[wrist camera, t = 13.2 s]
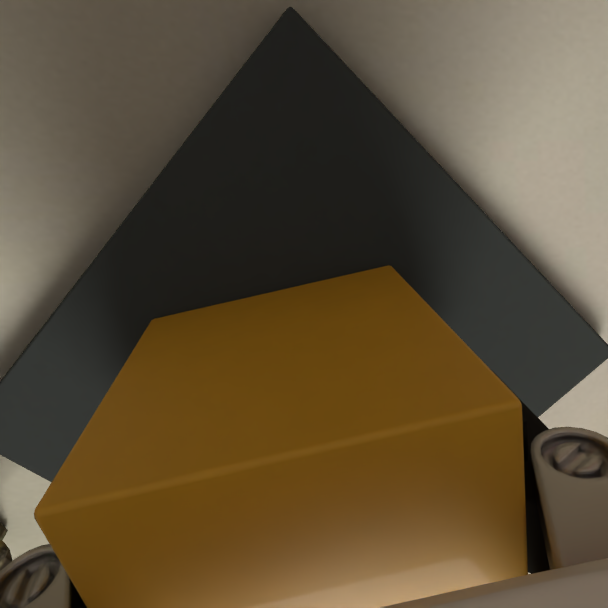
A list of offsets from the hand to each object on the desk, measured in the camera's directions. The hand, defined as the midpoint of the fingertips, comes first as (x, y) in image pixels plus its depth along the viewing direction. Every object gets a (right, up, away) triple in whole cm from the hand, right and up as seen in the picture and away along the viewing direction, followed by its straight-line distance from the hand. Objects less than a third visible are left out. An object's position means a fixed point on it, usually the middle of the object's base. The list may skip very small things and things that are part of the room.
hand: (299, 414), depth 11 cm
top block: (0, 0, +1) cm, 1 cm away
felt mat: (0, +1, +1) cm, 2 cm away
